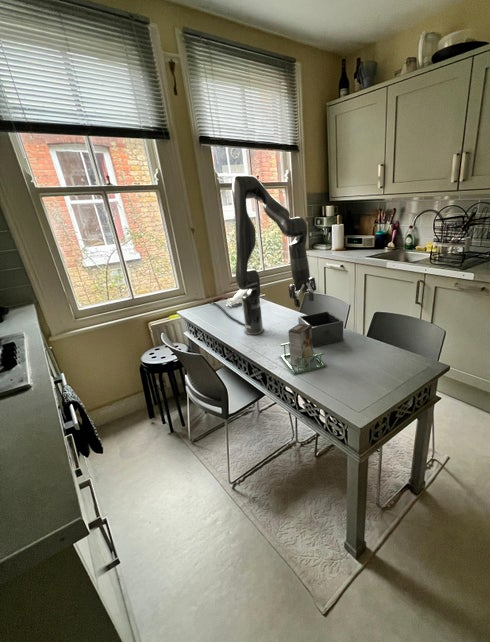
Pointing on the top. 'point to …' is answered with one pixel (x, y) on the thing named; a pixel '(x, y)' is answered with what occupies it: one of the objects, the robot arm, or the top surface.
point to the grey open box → (324, 327)
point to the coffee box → (301, 343)
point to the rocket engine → (236, 298)
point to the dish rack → (303, 361)
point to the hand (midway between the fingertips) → (304, 303)
